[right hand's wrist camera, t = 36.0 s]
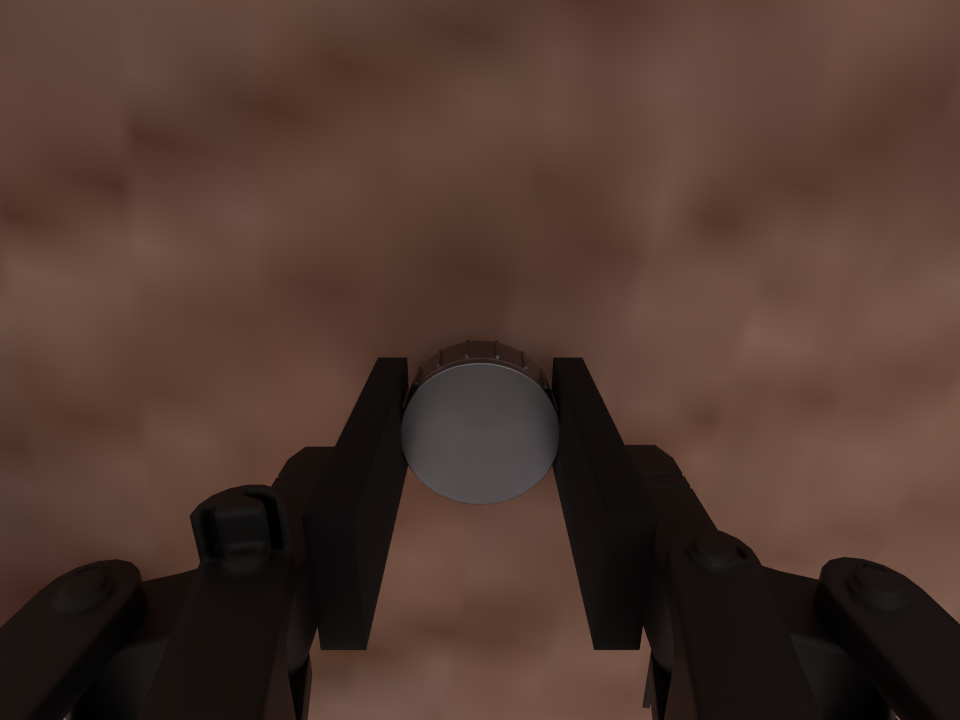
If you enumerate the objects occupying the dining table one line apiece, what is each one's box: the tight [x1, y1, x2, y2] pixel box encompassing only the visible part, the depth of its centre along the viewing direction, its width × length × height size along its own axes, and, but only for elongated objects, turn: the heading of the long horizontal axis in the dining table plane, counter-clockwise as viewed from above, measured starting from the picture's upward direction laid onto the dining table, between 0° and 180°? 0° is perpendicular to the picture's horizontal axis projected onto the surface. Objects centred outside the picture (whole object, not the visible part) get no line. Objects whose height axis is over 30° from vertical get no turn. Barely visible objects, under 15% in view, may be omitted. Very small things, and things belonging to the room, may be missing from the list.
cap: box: [401, 340, 560, 504], centre depth 14 cm, size 4×4×2 cm
